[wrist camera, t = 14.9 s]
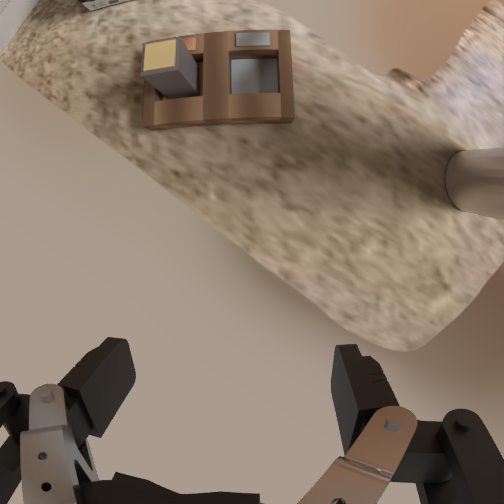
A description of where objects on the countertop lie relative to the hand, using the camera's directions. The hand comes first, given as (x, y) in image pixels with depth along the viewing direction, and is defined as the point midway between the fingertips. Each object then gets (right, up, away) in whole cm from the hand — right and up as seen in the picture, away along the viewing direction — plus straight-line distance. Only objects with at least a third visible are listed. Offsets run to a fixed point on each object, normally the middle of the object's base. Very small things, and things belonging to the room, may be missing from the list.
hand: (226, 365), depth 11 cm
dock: (-3, +26, +24) cm, 35 cm away
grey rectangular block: (-8, +26, +23) cm, 36 cm away
